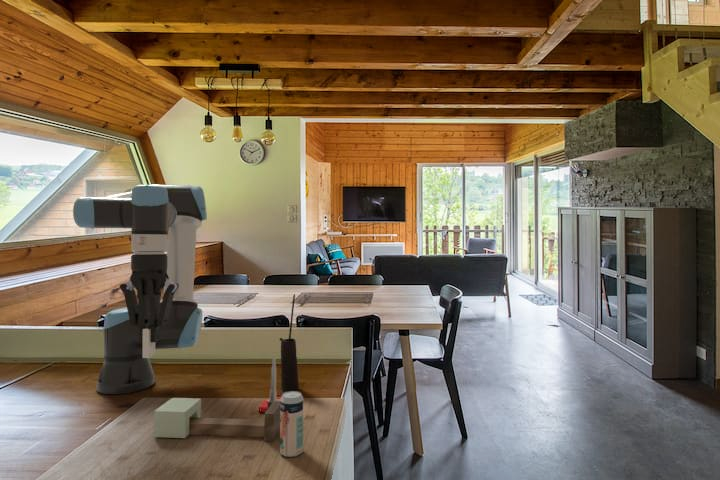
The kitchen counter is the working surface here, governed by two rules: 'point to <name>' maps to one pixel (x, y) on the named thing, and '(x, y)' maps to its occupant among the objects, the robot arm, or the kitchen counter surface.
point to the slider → (176, 417)
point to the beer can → (291, 424)
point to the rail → (240, 425)
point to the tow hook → (273, 391)
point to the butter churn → (289, 361)
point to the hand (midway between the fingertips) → (148, 356)
